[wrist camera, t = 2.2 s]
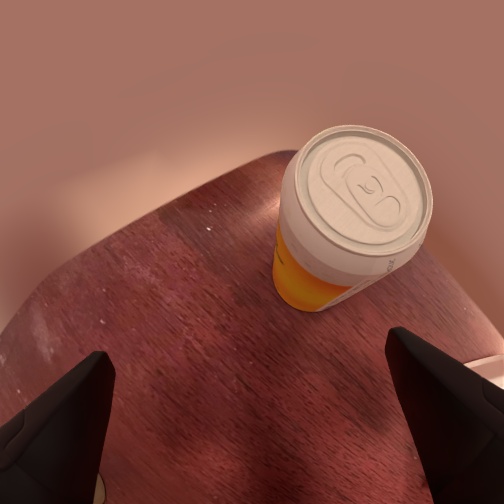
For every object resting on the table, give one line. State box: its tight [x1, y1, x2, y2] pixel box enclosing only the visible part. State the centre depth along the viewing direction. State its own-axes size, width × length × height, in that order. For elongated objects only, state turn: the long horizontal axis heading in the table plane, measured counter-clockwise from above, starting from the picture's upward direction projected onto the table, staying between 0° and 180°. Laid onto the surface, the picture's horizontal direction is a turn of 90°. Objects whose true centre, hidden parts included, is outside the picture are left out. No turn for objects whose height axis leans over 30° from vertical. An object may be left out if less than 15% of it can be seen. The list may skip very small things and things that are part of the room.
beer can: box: [273, 125, 433, 312], centre depth 17 cm, size 6×6×15 cm
